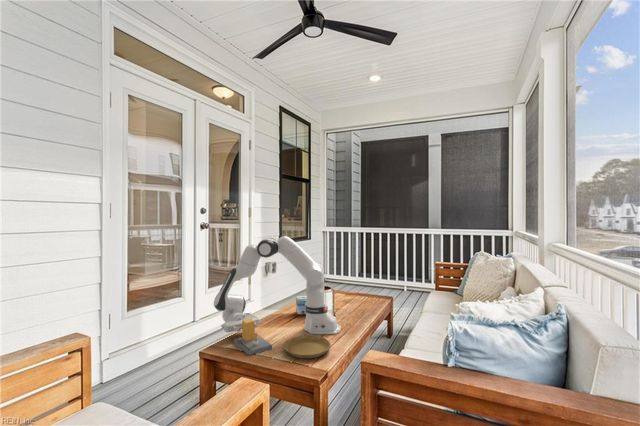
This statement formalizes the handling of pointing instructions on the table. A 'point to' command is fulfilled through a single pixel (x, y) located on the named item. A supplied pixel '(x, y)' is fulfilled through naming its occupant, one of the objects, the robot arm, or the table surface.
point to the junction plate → (253, 345)
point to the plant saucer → (307, 346)
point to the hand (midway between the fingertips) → (247, 328)
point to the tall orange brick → (248, 329)
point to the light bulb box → (300, 304)
